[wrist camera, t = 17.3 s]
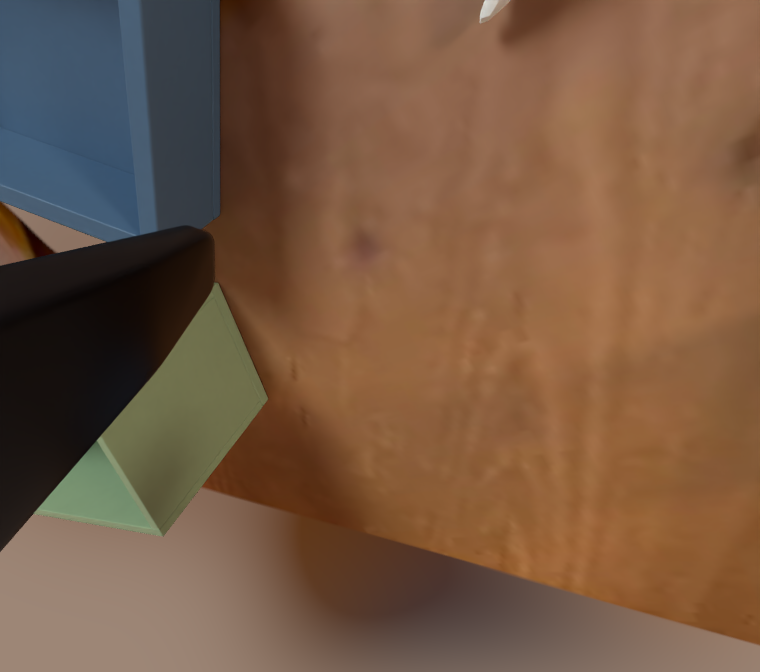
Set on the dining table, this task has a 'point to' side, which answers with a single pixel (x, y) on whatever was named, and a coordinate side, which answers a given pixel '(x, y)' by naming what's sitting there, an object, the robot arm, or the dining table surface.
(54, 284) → the robot arm
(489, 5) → the unicorn horn
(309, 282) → the dining table surface
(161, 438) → the caddy
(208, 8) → the box
